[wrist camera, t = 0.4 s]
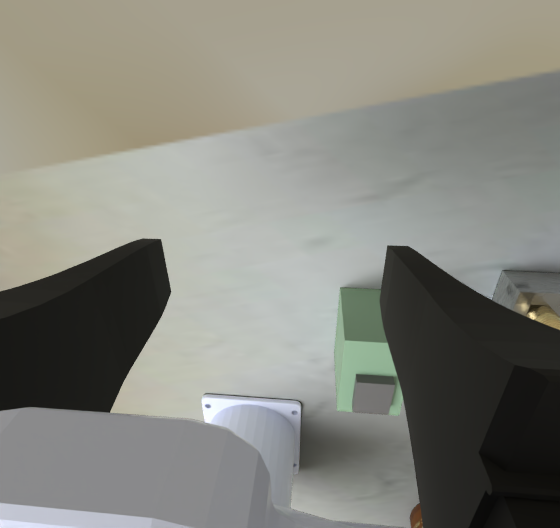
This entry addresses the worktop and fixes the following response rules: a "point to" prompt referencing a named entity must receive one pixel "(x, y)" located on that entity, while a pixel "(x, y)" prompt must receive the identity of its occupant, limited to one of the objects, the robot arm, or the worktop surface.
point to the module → (364, 356)
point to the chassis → (531, 295)
